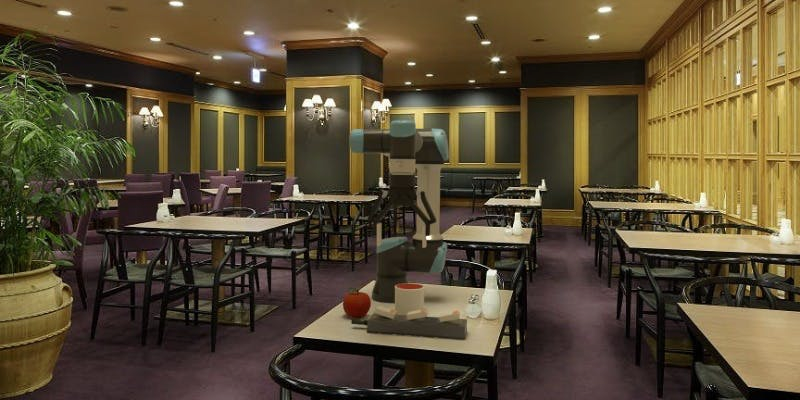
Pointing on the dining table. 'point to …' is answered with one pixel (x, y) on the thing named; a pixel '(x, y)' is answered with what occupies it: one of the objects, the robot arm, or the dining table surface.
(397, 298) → the cup
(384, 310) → the block
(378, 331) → the power strip
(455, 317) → the rocker
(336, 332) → the dining table surface
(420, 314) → the rocker
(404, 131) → the robot arm
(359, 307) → the fruit
